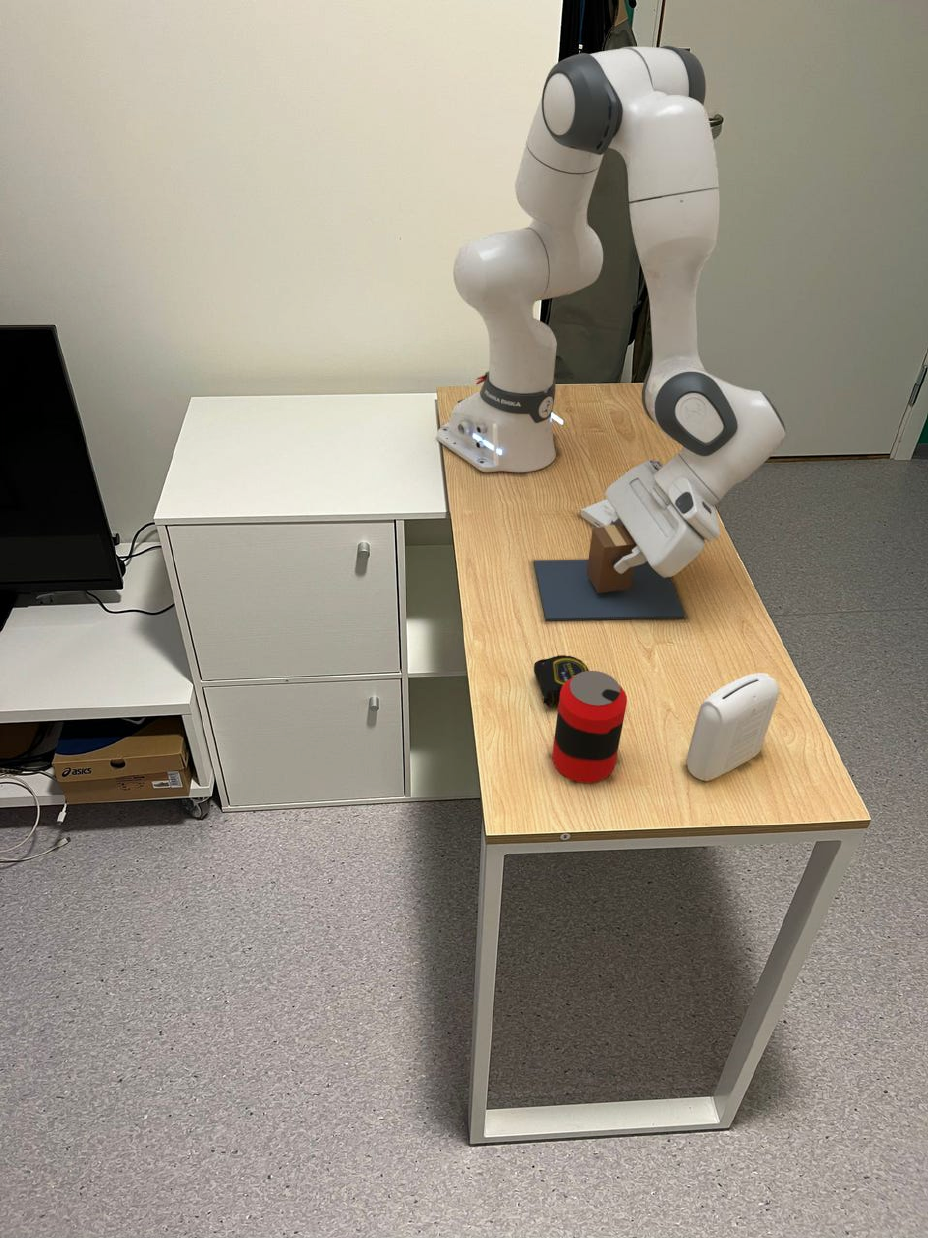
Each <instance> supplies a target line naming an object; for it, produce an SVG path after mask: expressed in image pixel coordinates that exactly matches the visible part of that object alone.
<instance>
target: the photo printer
mask: <svg viewBox="0 0 928 1238" xmlns="http://www.w3.org/2000/svg"><path fill="white" fill-rule="evenodd" d="M779 694H780V689H779V686H778V683H777V680H776V679H775V678H774V677H771V676H770V675H769V674H768V673H767V672H756V673H751V674H748V675H747V674H746V675H744V676H741V677H739V678H736V679H735V680H733V681H730V682H728V683H727V684H725V685H724V686H723V685H722V687H720V688H718V689H717V690H715V691H714V692H713V693H711V694H710V695H708V696H707V697H706V698H705V699H704V700H703V702H702V703H701V704H700V706H699V709H698V712H697V715H696V720H695V724H694V728H693V732H692V735H691V739H690V742H689V747H688V750H687V754H686V758H685V763H686V765H687V770H688V771H689V773H690V774H691V776H693V777H694V778H696V779H698V780H699V781H700V780H701V781H705V782H709V781H712V780H714V779H716V778H718V777H719V778H720V777H721V776H722V775H724V774H725V775H726V774H727V773H728V772H730V771H732V770H734V769H736V768H737V767H739V766H741V765H743V764H745V763H746V762H748V761H750V760H752V759H753V758H755V757H757V755H758V754H759V753H760V752H761V750H762V747H763V745H764V741H765V739H766V735H767V733H768V729H769V726H770V723H771V720H772V718H773V714H774V712H775V709H776V705H777V702H778V699H779Z"/></svg>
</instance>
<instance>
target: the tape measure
mask: <svg viewBox="0 0 928 1238" xmlns="http://www.w3.org/2000/svg"><path fill="white" fill-rule="evenodd" d="M585 671H590V670H589V668H588V666H587V665H586V664H585V663H584V662H583V660H581V659H579V658H577V657H575V656H572V655H566V654H561V655H560V654H559V655H556V656H552V657H549V658H543V659H542V658H541V659H539V660H537V661H535V662H534V663H533V672H534V673H533V674H534V676H535V678H536V681H537V682H538V684H539V686H540V691H541V695H542V697H543V698H542V700H543V701H542V703H543V704H545V705H546V706H547V707H553V706H555V707H556V706H558V704H559V698H560V691H561V688H562V686H563V685H564V683H565V682H566V681H568V680H569V679H571V678H572V677H574V676H575V675H577V674H579V673H581V672H585Z"/></svg>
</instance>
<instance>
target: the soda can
mask: <svg viewBox="0 0 928 1238" xmlns="http://www.w3.org/2000/svg"><path fill="white" fill-rule="evenodd" d="M627 704H628V696H627V694H626V691H625V690H624V688H623V687H622V686H621V685H620V684H619V682H618V680H616V679H615V678H614V677H613V676H611V675H610V674H608V673H605V672H603V671H598V670H589V671H585V672H581V673H579V674H577V675H575V676H574V677H572V678H571V679H569V680H568V681H566V682H565V683H564V685H563V686H562V688H561V691H560V698H559V703H558V705H557V706H558V707H557V714H556V722H555V731H554V739H553V746H552V752H551V753H552V755H551V756H552V762H553V765H554V767H555V768H556V769H557V771H559V773H561V774H562V775H563V776H564V777H566V778H568V779H569V780H572V781H575V782H578V783H585V784H589V783H596V782H600V781H602V780H604V779H606V778H607V777H609V776H610V775H611V774H612V773H613V771H614V770H615V767H616V762H617V757H618V751H619V746H620V741H621V735H622V730H623V725H624V720H625V715H626V709H627Z"/></svg>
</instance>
